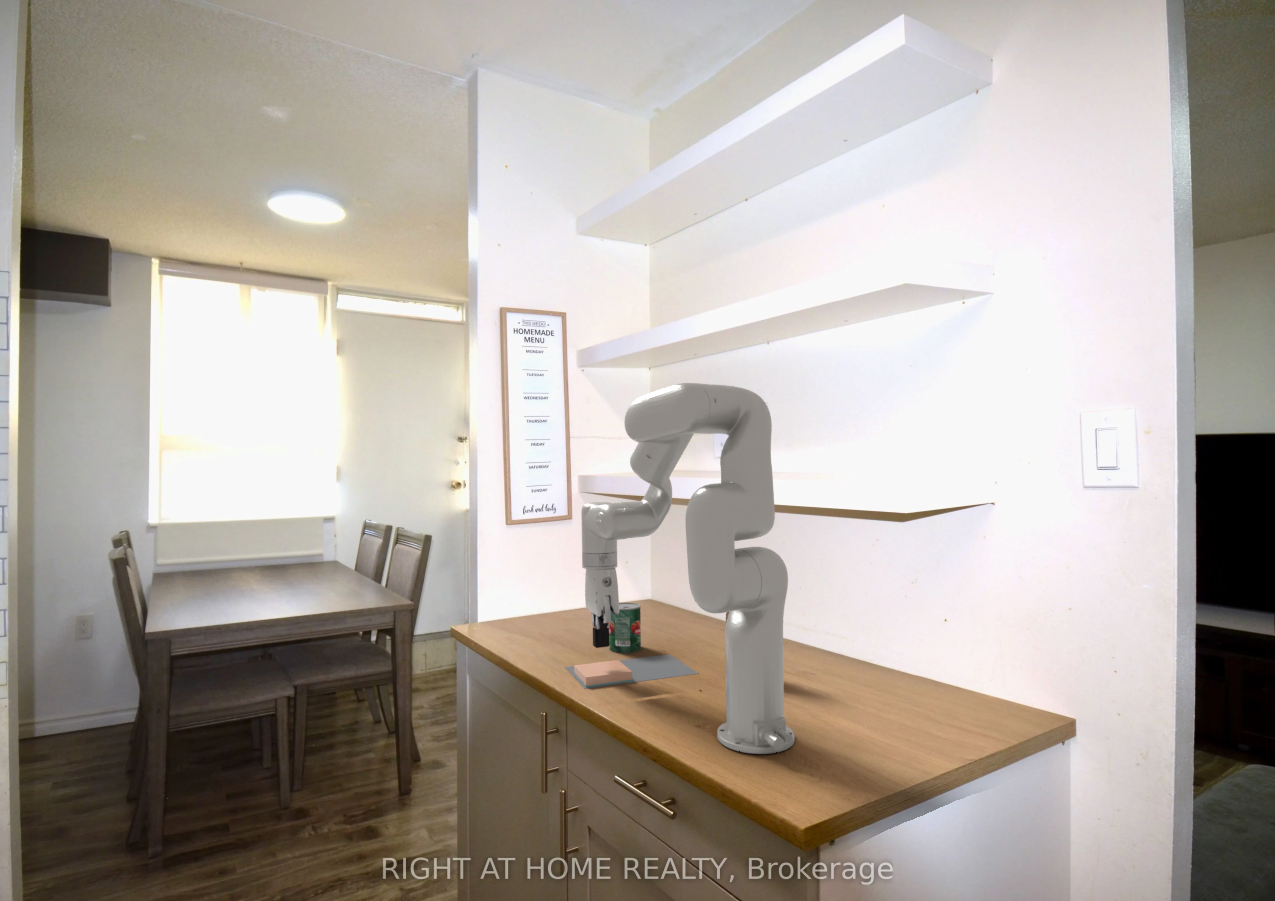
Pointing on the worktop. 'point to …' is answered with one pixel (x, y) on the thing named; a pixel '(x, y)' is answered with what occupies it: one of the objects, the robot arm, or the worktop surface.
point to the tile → (602, 673)
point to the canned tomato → (625, 629)
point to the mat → (649, 669)
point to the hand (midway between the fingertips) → (601, 646)
